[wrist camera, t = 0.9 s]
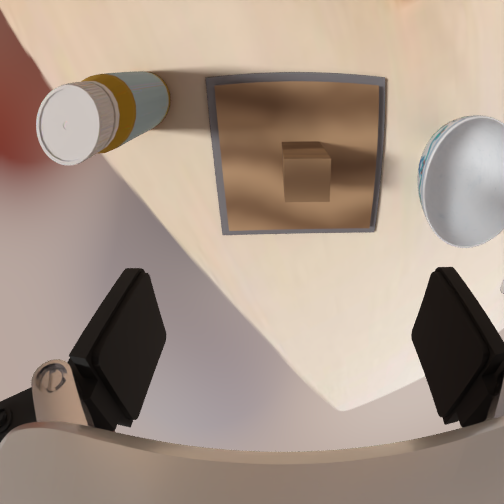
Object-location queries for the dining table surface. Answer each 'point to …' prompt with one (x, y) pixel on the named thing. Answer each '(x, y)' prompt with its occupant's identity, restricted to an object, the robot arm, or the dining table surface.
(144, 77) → the bottle
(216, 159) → the mat
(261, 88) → the cover
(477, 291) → the dining table surface
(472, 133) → the chinaware
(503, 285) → the chalice
